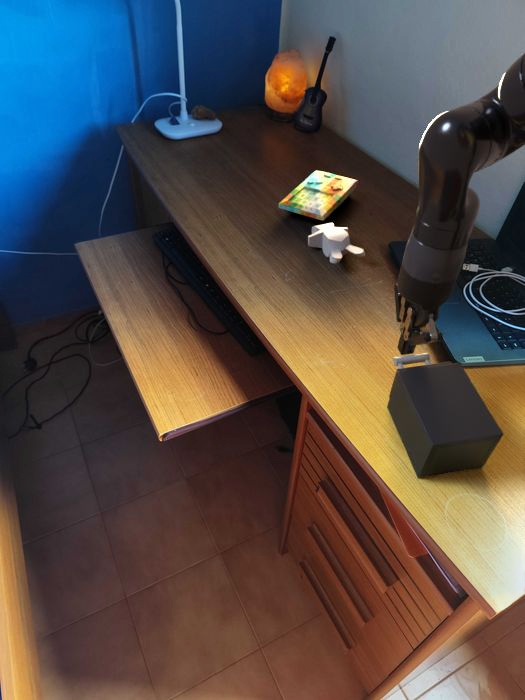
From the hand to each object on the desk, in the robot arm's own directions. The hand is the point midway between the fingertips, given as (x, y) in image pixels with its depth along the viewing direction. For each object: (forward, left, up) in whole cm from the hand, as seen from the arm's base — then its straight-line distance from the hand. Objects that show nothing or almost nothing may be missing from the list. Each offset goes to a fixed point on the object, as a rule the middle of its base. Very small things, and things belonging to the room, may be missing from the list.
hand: (404, 351), depth 75 cm
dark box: (0, +13, -5) cm, 14 cm away
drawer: (0, +9, -4) cm, 10 cm away
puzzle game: (0, -56, -5) cm, 56 cm away
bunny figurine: (+2, -36, -5) cm, 36 cm away
